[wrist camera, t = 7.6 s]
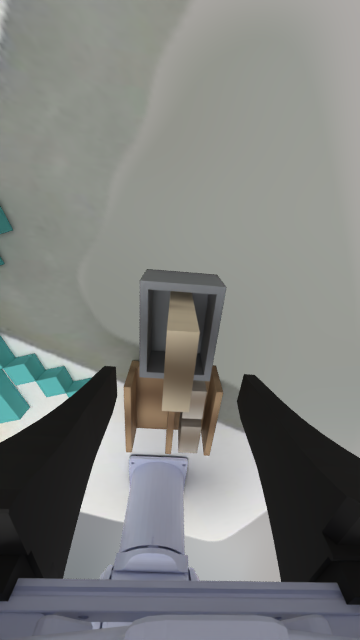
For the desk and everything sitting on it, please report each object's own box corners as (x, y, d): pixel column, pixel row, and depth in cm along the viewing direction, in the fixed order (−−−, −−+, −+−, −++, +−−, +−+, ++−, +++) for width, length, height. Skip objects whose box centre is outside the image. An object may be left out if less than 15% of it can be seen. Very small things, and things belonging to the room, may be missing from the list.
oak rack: (205, 423, 27) (209, 455, 23) (133, 420, 26) (126, 452, 23) (215, 365, 23) (223, 392, 19) (132, 360, 23) (123, 386, 19)
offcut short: (199, 399, 24) (201, 419, 21) (181, 398, 24) (182, 418, 21) (203, 373, 22) (206, 391, 20) (184, 372, 22) (185, 390, 20)
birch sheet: (184, 347, 21) (188, 412, 14) (167, 346, 21) (161, 410, 14) (191, 290, 19) (199, 332, 12) (170, 288, 19) (166, 330, 12)
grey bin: (204, 355, 23) (209, 381, 19) (145, 351, 22) (139, 377, 19) (216, 274, 19) (226, 287, 15) (147, 269, 19) (139, 280, 15)
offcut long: (194, 428, 26) (196, 453, 23) (178, 427, 26) (178, 452, 23) (198, 404, 24) (201, 427, 21) (181, 403, 24) (181, 426, 21)
